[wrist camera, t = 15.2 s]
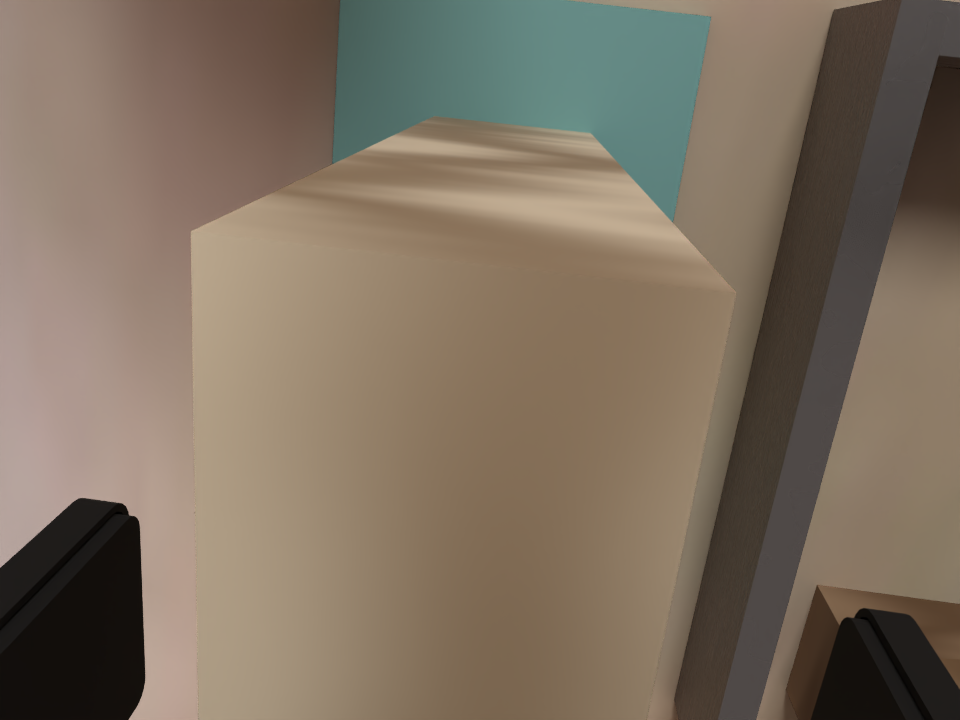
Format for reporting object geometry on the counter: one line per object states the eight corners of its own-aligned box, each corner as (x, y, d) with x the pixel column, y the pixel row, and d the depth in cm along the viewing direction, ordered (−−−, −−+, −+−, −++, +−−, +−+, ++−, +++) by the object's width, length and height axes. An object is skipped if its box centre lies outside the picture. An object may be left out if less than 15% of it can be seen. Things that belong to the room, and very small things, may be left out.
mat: (706, 18, 21) (711, 16, 20) (594, 624, 27) (596, 634, 26) (345, -23, 21) (341, -25, 20) (315, 588, 27) (311, 598, 26)
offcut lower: (959, 602, 26) (1012, 668, 23) (921, 706, 27) (966, 780, 24) (816, 583, 26) (851, 646, 23) (785, 687, 27) (814, 759, 24)
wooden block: (590, 132, 21) (736, 292, 6) (533, 542, 25) (534, 1254, 10) (434, 115, 21) (190, 230, 6) (401, 526, 25) (205, 1209, 10)
